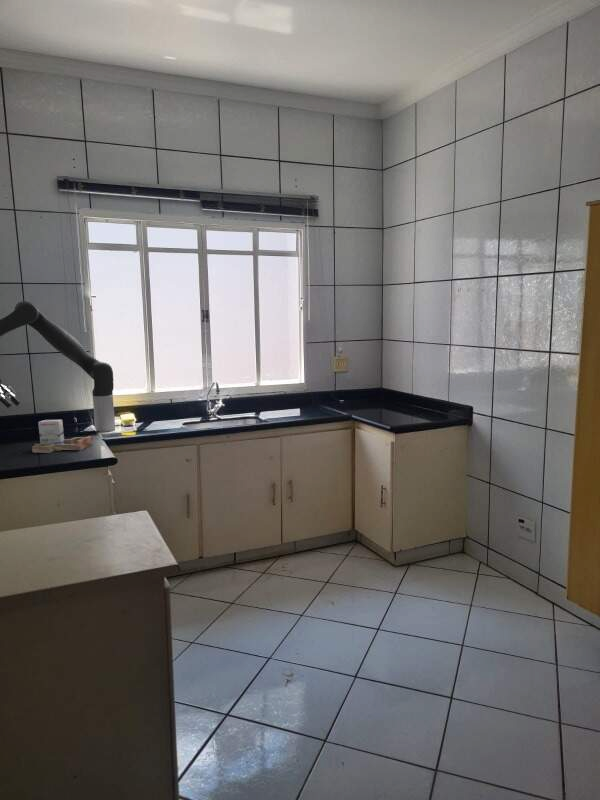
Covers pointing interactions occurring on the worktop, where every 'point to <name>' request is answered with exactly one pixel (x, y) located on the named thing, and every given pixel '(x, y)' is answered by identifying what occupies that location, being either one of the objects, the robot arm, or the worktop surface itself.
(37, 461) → the worktop surface
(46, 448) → the trap lane
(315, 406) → the worktop surface
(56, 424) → the ink box
